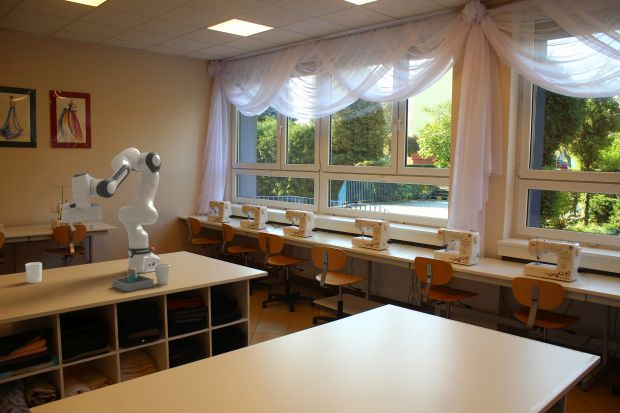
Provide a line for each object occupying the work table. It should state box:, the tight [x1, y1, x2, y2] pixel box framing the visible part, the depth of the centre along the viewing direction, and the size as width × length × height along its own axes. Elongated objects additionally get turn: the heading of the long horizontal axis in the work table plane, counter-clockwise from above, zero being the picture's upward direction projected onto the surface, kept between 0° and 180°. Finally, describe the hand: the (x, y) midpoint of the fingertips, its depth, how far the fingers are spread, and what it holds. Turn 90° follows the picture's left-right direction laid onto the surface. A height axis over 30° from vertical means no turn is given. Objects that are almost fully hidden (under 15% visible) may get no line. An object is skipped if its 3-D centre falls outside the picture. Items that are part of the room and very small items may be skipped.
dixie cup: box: [154, 263, 171, 285], centre depth 269 cm, size 8×8×10 cm
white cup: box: [24, 261, 43, 284], centre depth 272 cm, size 8×8×10 cm
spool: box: [127, 268, 138, 284], centre depth 261 cm, size 4×4×9 cm
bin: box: [111, 274, 154, 293], centre depth 261 cm, size 15×15×4 cm
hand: (82, 229), depth 266 cm, fingers open, 8 cm apart
